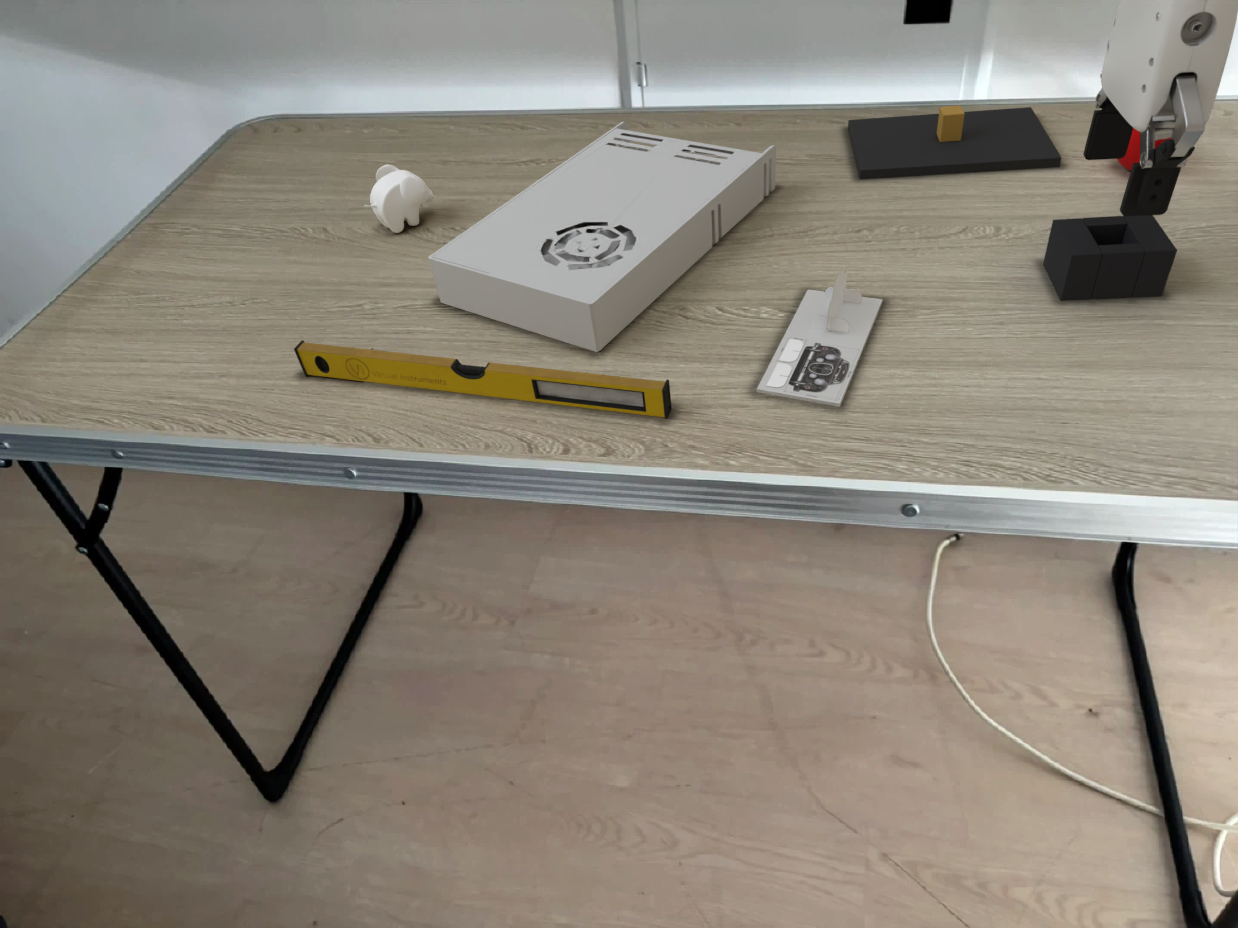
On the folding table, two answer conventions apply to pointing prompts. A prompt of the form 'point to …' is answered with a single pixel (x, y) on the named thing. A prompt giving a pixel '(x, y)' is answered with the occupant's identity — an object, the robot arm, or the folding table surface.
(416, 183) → the elephant figurine
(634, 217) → the power supply unit
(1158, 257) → the black socket block
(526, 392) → the spirit level
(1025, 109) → the base pad
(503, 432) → the folding table surface
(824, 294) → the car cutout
